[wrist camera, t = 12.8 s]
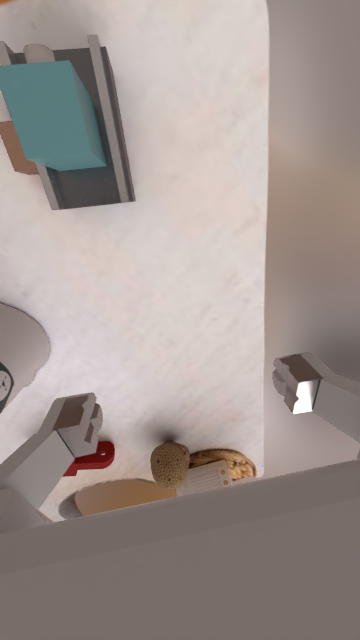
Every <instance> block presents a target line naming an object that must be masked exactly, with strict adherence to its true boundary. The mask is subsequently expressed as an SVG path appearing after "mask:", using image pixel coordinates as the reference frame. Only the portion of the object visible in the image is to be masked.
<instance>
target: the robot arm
mask: <svg viewBox="0 0 360 640" xmlns="http://www.w3.org/2000/svg"><path fill="white" fill-rule="evenodd" d="M49 355H50V343H49V339H48V337H47V335H46V333H45V332H44V330H43V329H42V328H41V326H40V325H39V324H38V323H37V322H36V321H35V320H33V319H32V318H31V317H29V316H28V315H27V314H25V313H23V312H21V311H19V310H17V309H15V308H13V307H10V306H7V305H4V304H1V303H0V413H1V412H2V411H3V410H4V409H5V408H6V407H7V406H8V405H9V404H10V402H11V401H12V400H13V399H14V398H15V397H16V396H17V394H18V393H19V392H20V391H21V390H22V389H23V388H24V387H27V386H29V385H30V384H31V383H32V382H33V380H34V378H35V375H36V372H37V371H38V370H39V369H40V368H41V367H42V366H43V365H44V364H45V363H46V362H47V360H48V358H49ZM274 367H275V368H276V369H275V371H274V372H273V375H272V379H273V383H274V386H275V388H276V390H277V391H278V393H280V394H281V395H283V396H285V398H284V402H285V403H286V405H287V406H288V407H289V409H290V411H291V412H292V414H296V413H302V412H308V411H313V412H314V413H315V414H317V415H318V416H320V417H321V418H323V419H324V420H326V421H327V422H329V423H330V424H332V425H333V426H335V427H336V428H338V429H339V430H341V431H342V432H344V433H345V434H347V435H349V436H350V437H351V438H353V439H355V440H356V441H358V442H359V443H360V383H358V382H355V381H353V380H350V379H348V378H345V377H343V376H336V375H335V374H334V373H333V372H332V371H331V370H330V369H328V368H327V367H326V366H325V365H324V364H323V363H322V362H321V361H320V360H319V359H318V358H317V357H315V356H314V355H313V354H312V353H311V352H304V353H299V354H294V355H289V356H284V357H279V358H275V360H274ZM95 402H96V396H95V394H94V393H85V394H79V395H73V396H68V397H62V398H57V399H56V400H54V402H53V404H52V406H51V408H50V410H49V412H48V414H47V416H46V418H45V420H44V422H43V424H42V426H41V428H40V430H39V432H38V434H34V435H33V436H31V437H30V438H29V439H28V440H27V441H26V442H25V443H24V444H23V445H21V446H20V447H19V448H18V449H17V450H16V451H15V452H14V453H13V454H11V455H10V456H9V457H8V458H7V459H6V460H5V461H4V462H3V463H2V464H0V640H360V451H359V453H358V456H357V458H358V459H357V460H352V461H348V462H342V463H338V464H333V465H328V466H324V467H318V468H313V469H309V470H304V471H299V472H295V473H290V474H285V475H280V476H275V477H270V478H266V479H261V480H256V481H251V482H246V483H242V484H237V485H232V486H227V487H222V488H217V489H212V490H208V491H203V492H198V493H193V494H188V495H184V496H179V497H174V498H169V499H165V500H160V501H155V502H151V503H145V504H141V505H136V506H131V507H126V508H122V509H117V510H112V511H107V512H102V513H98V514H93V515H88V516H83V517H78V518H74V519H69V520H64V521H59V522H54V523H50V524H47V520H46V519H45V518H44V517H43V516H42V515H41V514H40V513H39V512H38V509H39V508H40V507H41V505H42V504H43V502H44V501H45V500H46V498H47V497H48V495H49V494H50V493H51V491H52V490H53V488H54V487H55V486H56V484H57V483H58V482H59V480H60V479H61V477H62V476H63V475H64V473H65V472H66V470H67V469H68V468H69V466H70V465H71V463H72V462H73V461H74V459H75V457H80V456H84V455H89V454H93V453H96V449H97V444H98V440H99V436H98V434H97V432H98V431H99V429H100V428H101V427H102V422H103V413H102V409H101V407H100V405H99V404H97V403H95Z"/></svg>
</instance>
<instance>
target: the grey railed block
mask: <svg viewBox="0 0 360 640" xmlns="http://www.w3.org/2000/svg"><path fill="white" fill-rule="evenodd" d="M87 38H88V42H89V47H90V48H81V49H67V50H54V51H53V53H54V57H55V61H67V60H69V61H70V62H71V64H72V66H73V68H74V69H75V71H76V73H77V75H78V76H79V78H80V80H81V81H82V83H83V85H84V87H85V88H86V90H87V92H88V94H89V95H90V97H91V99H92V100H93V102H94V106H95V111H96V115H97V120H98V125H99V129H100V134H101V138H102V143H103V148H104V152H105V157H106V162H107V166H104V167H94V168H85V169H75V170H65V171H58V170H56V169H53V168H50V167H47V166H44V165H41V164H38V163H35V162H32V161H30V160H27V159H26V157H25V154H24V151H23V149H22V146H21V143H20V140H19V138H18V135H17V132H16V129H15V127H14V124H13V121H8V122H0V135H1V137H2V140H3V142H4V145H5V147H6V150H7V153H8V155H9V158H10V160H11V163H12V165H13V168H14V170H15V172H19V173H24V174H28V175H31V174H39V175H40V177H41V180H42V183H43V186H44V189H45V192H46V195H47V198H48V200H49V203H50V206H51V209H52V210H62V209H72V208H81V207H90V206H99V205H107V204H116V203H125V202H134V201H135V195H134V189H133V184H132V178H131V172H130V167H129V161H128V155H127V150H126V144H125V138H124V133H123V127H122V121H121V115H120V110H119V104H118V98H117V93H116V87H115V81H114V76H113V70H112V67H111V64H110V60H109V57H108V53H107V50H106V47H101V46H100V43H99V39H98V36H97V35H87ZM0 63H1V66H3V65H16V64H27V61H26V58H25V54H24V53H14V52H13V51H12V50H11V49H10V48H9V47H8V46H7V44H6V43H5V42H4V41H0Z"/></svg>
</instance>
